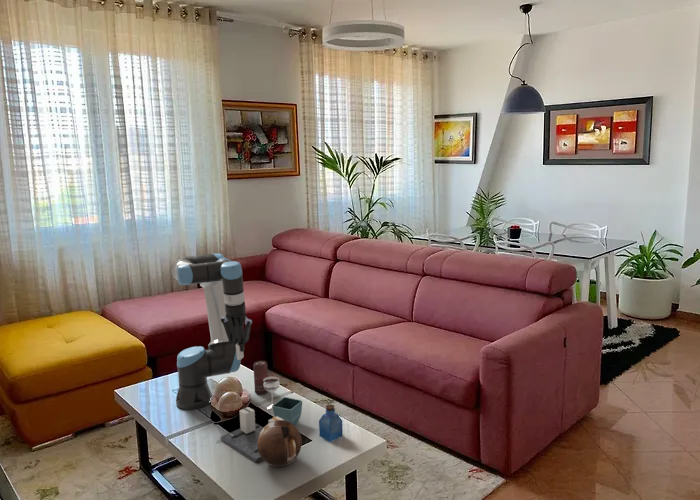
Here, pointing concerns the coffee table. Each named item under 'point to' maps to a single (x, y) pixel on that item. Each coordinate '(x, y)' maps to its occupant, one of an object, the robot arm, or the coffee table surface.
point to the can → (260, 376)
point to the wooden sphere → (279, 443)
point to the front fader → (274, 419)
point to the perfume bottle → (330, 425)
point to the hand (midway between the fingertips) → (240, 358)
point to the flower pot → (288, 409)
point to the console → (245, 442)
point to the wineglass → (271, 387)
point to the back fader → (247, 420)
